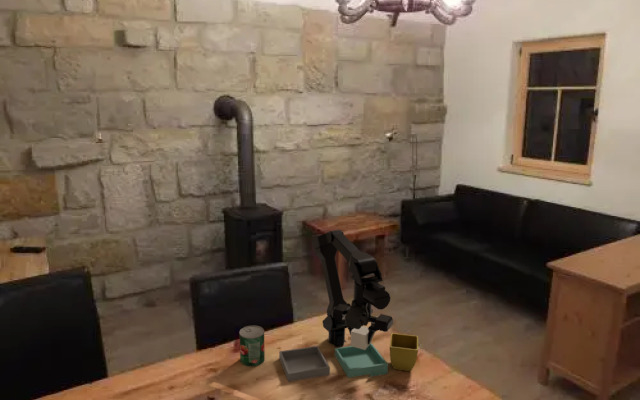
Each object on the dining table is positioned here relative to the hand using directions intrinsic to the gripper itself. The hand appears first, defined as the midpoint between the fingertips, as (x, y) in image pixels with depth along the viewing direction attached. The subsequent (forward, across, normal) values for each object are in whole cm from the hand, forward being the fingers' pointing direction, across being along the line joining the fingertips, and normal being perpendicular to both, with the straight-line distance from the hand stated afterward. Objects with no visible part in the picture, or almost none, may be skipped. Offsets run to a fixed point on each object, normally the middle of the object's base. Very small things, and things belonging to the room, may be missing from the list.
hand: (361, 341), depth 149 cm
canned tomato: (+9, -31, -16) cm, 36 cm away
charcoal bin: (+8, -15, -11) cm, 20 cm away
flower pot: (+9, +12, +6) cm, 16 cm away
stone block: (+1, 0, 0) cm, 1 cm away
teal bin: (+8, 0, 0) cm, 8 cm away
